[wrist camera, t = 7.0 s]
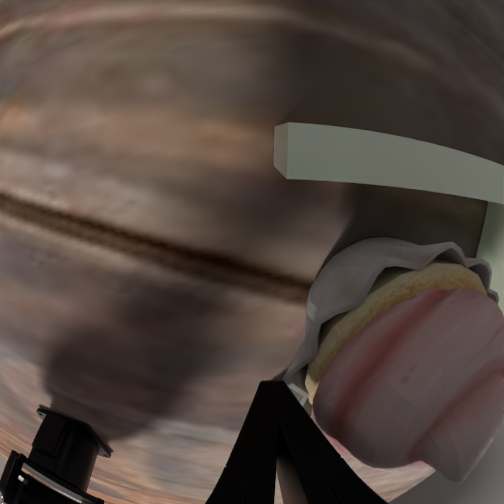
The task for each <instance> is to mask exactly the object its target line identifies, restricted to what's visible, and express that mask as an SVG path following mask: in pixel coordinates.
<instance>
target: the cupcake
mask: <svg viewBox="0 0 504 504" xmlns="http://www.w3.org/2000/svg"><path fill="white" fill-rule="evenodd" d="M491 276H492V270H491V266H490V263H489V262H487V261H485V260H484V259H476V258H465V255H464V253H463V251H462V249H461V248H460V247H459V246H457V245H456V244H455V243H454V242H453V241H452V242H445V243H438V244H430V245H422V246H420V245H417V244H414V243H411V242H408V241H405V240H401V239H396V238H390V237H376V238H368V239H365V240H362V241H360V242H357V243H355V244H353V245H351V246H349V247H347V248H345V249H344V250H342V251H341V252H339V253H338V254H336V255H335V256H333V257H332V259H331V260H330V261H329V262H328V263H327V264H326V265H325V266H324V268H323V269H322V270H321V271H320V273H319V275H318V276H317V278H316V279H315V281H314V283H313V284H312V286H311V288H310V291H309V295H308V299H307V304H306V320H305V327H304V333H303V340H302V344H301V346H300V348H299V350H298V352H297V353H296V355H295V357H294V359H293V361H292V363H291V365H290V367H289V368H288V370H287V372H286V374H285V376H284V377H283V380H284V382H285V383H286V384H287V386H289V387H290V388H291V389H293V390H294V391H296V392H297V393H299V398H298V401H299V402H300V403H301V405H302V406H303V407H304V409H305V410H306V411H307V413H308V414H309V415H310V417H311V418H312V419H313V421H314V422H315V423H316V425H317V426H318V427H319V429H320V430H321V431H322V433H323V434H324V435H325V436H326V438H327V439H328V440H329V442H330V443H331V444H332V445H333V447H334V448H335V449H336V451H337V452H338V453H340V454H343V455H347V456H352V457H353V458H355V459H356V460H357V461H359V462H361V463H362V464H364V465H365V466H368V467H370V468H373V469H376V470H382V471H406V470H412V469H419V468H423V467H429V466H431V467H433V468H434V469H435V470H437V471H438V472H440V473H442V474H443V475H444V476H445V477H446V478H447V479H449V480H451V481H453V482H455V483H457V484H460V483H461V482H462V481H464V480H465V479H466V478H467V477H468V475H469V473H470V472H471V471H472V470H473V469H474V467H475V465H476V464H477V462H478V461H479V460H480V459H481V458H482V456H483V455H484V453H485V452H486V450H487V448H488V447H489V445H490V444H491V442H492V441H493V439H494V437H495V435H496V433H497V431H498V429H499V427H500V424H501V422H502V418H503V414H504V316H503V313H502V311H501V309H500V308H499V306H498V302H499V297H498V293H497V292H495V291H493V290H491V289H490V283H491Z"/></svg>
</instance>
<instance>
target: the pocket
mask: <svg viewBox="0 0 504 504" xmlns="http://www.w3.org/2000/svg"><path fill="white" fill-rule="evenodd" d="M274 166H275V167H276V169H277V170H278V171H279V172H280V173H281V174H282V175H283V176H284V177H285V178H286V179H298V180H318V181H335V182H349V183H361V184H372V185H382V186H392V187H401V188H409V189H417V190H424V191H432V192H438V193H445V194H451V195H457V196H463V197H469V198H475V199H480V200H485V201H488V205H487V211H486V216H485V221H484V225H483V230H482V234H481V238H480V242H479V246H478V250H477V254H476V257H475V258H476V259H484V260H485V261H487V262H489V263H490V266H491V270H492V276H491V283H490V289H491V290H493V291H495V292H497V293H498V297H499V302H498V306H499V308H500V309H501V311H502V313H503V316H504V165H501V164H498V163H495V162H493V161H490V160H487V159H484V158H481V157H478V156H475V155H472V154H468V153H465V152H462V151H458V150H455V149H451V148H448V147H444V146H440V145H436V144H432V143H428V142H424V141H419V140H415V139H410V138H406V137H401V136H396V135H390V134H385V133H379V132H373V131H367V130H360V129H353V128H346V127H337V126H328V125H318V124H307V123H292V122H288V123H285V124H282V125H278V126H275V127H274ZM288 387H289V386H288ZM289 388H290V387H289ZM290 390H291V391H292V393H293V394H294V395H295V397H296V398H297V399H298V398H299V393H297V392H296V391H294V390H293V389H291V388H290Z"/></svg>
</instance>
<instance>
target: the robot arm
mask: <svg viewBox="0 0 504 504" xmlns="http://www.w3.org/2000/svg"><path fill="white" fill-rule="evenodd" d="M36 412H37V413H38V415H39V416H40V417H41V419H42V420H43V422H42V424H41V426H40V428H39V430H38V432H37V434H36V436H35V439H34V441H33V443H32V447H33V448H32V450H31V452H30V455H29V457H28V458H26V456H25V455H23V454H22V453H20V454H19V453H17V452H16V451H14V450H12V451H11V454H10V456H9V458H8V461H7V463H6V466H5V468H4V471H3V474H2V477H1V480H0V492H1V497H2V503H1V504H104V500H102V499H100V498H96V497H94V496H92V495H90V494H87V493H86V491H87V488H88V484H89V481H90V477H91V474H92V471H93V467H94V464H95V461H96V458H97V455H100V456H103V457H107V458H110V457H111V453H110V452H109V451H108V450H107V449H106V447H105V446H104V445H103V444H102V443H101V441H100V440H99V439H98V437H97V436H96V435H95V434H94V432H93V431H92V430H91V428H90V427H89V426H88V425H86V424H84V423H81V422H77V421H74V420H71V419H68V418H65V417H62V416H59V415H56V414H53V413H50V412H48V411H45V410H42V409H40V408H38V409H37V411H36ZM22 467H23V468H24V469H26V470H27V471H29V472H30V473H32V474H33V475H35V476H36V477H38V478H40V479H41V480H43V481H45V482H46V483H48V484H50V485H51V486H53V487H55V488H57V489H58V490H60V491H62V492H64V493H66V494H68V495H70V496H71V497H74V498H75V499H77V500H80V501H82V503H79V502H77V501H75V500H73V499H71V498H69V497H67V496H65V495H63V494H61V493H59V492H58V491H56V490H54V489H52V488H50V487H49V486H47V485H45V484H44V483H42V482H40V481H39V480H37V479H36V478H34V477H32V476H31V475H29V474H26V473H24V472H23V471H22V470H21V469H22ZM276 469H277V474H278V479H279V484H280V489H281V494H282V498H283V503H284V504H388V503H387V502H386V501H385V500H384V499H382V498H381V497H380V496H379V495H378V494H377V493H375V492H374V491H373V490H372V489H371V488H370V487H369V486H368V485H367V484H365V483H364V482H363V481H362V480H361V479H360V478H359V477H358V476H357V474H356V473H355V472H354V471H353V470H352V469H351V468H350V467H349V465H348V464H347V463H346V462H345V460H344V459H343V458H341V456H340V454H339V453H338V452H337V451H336V449H335V448H334V447H333V445H332V444H331V443H330V442H329V440H328V439H327V438H326V436H325V435H324V434H323V433H322V431H321V430H320V429H319V427H318V426H317V425H316V423H315V422H314V421H313V419H312V418H311V417H310V415H309V414H308V413H307V411H306V410H305V409H304V407H303V406H302V405H301V403H300V402H299V401H298V399H297V398H296V397H295V395H294V394H293V393H292V391H291V390H290V388H289V387H288V386H287V384H286V383H285V382H284V381H283V380H268V381H261V382H260V384H259V386H258V389H257V391H256V394H255V396H254V399H253V402H252V404H251V407H250V409H249V412H248V414H247V416H246V419H245V421H244V424H243V426H242V429H241V431H240V433H239V436H238V438H237V441H236V443H235V445H234V448H233V450H232V452H231V454H230V457H229V459H228V461H227V464H226V467H225V468H224V470H223V472H222V474H221V476H220V478H219V480H218V482H217V484H216V486H215V488H214V490H213V492H212V493H211V495H210V497H209V498H208V500H207V501H206V503H205V504H274V496H275V482H276Z"/></svg>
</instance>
